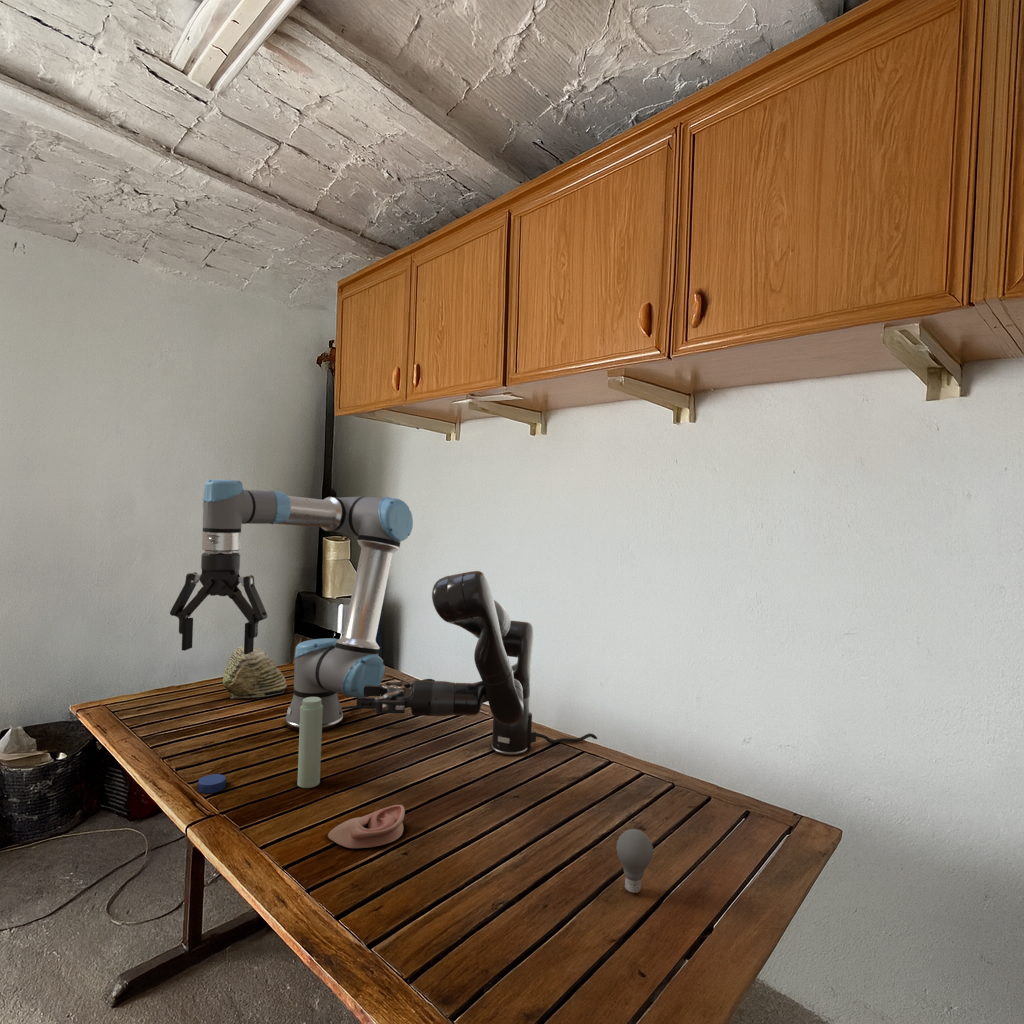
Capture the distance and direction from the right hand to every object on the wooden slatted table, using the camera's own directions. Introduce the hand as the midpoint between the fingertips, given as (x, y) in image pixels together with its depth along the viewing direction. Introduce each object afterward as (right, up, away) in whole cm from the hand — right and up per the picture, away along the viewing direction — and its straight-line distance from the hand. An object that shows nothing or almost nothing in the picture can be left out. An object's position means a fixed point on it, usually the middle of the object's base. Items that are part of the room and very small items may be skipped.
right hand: (360, 696), depth 140 cm
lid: (-31, -17, -4) cm, 35 cm away
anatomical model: (+6, -20, -20) cm, 29 cm away
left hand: (-29, +11, -5) cm, 32 cm away
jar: (-11, -19, 0) cm, 22 cm away
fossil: (-47, -16, +58) cm, 76 cm away
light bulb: (+54, -22, -34) cm, 68 cm away
